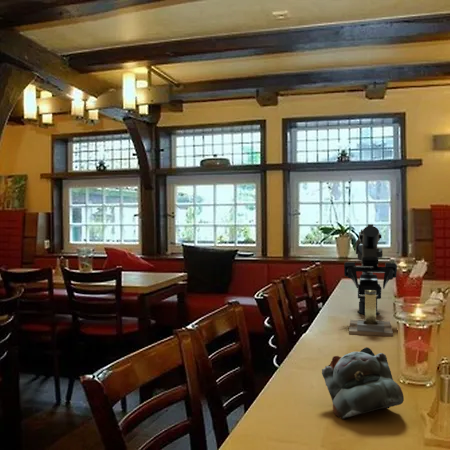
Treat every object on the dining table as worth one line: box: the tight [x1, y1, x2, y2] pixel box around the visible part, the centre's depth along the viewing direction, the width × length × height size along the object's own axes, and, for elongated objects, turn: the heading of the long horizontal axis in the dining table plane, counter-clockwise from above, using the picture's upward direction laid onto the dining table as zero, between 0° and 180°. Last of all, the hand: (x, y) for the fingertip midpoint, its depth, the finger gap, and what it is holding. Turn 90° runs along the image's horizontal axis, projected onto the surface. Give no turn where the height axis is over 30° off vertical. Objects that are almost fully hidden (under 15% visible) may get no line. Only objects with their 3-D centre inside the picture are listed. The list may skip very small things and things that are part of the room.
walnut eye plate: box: [348, 319, 394, 337], centre depth 185 cm, size 20×14×3 cm
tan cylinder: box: [364, 290, 377, 325], centre depth 180 cm, size 4×4×13 cm
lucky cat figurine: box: [321, 346, 405, 420], centre depth 109 cm, size 15×12×14 cm
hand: (370, 287), depth 192 cm, fingers open, 9 cm apart
